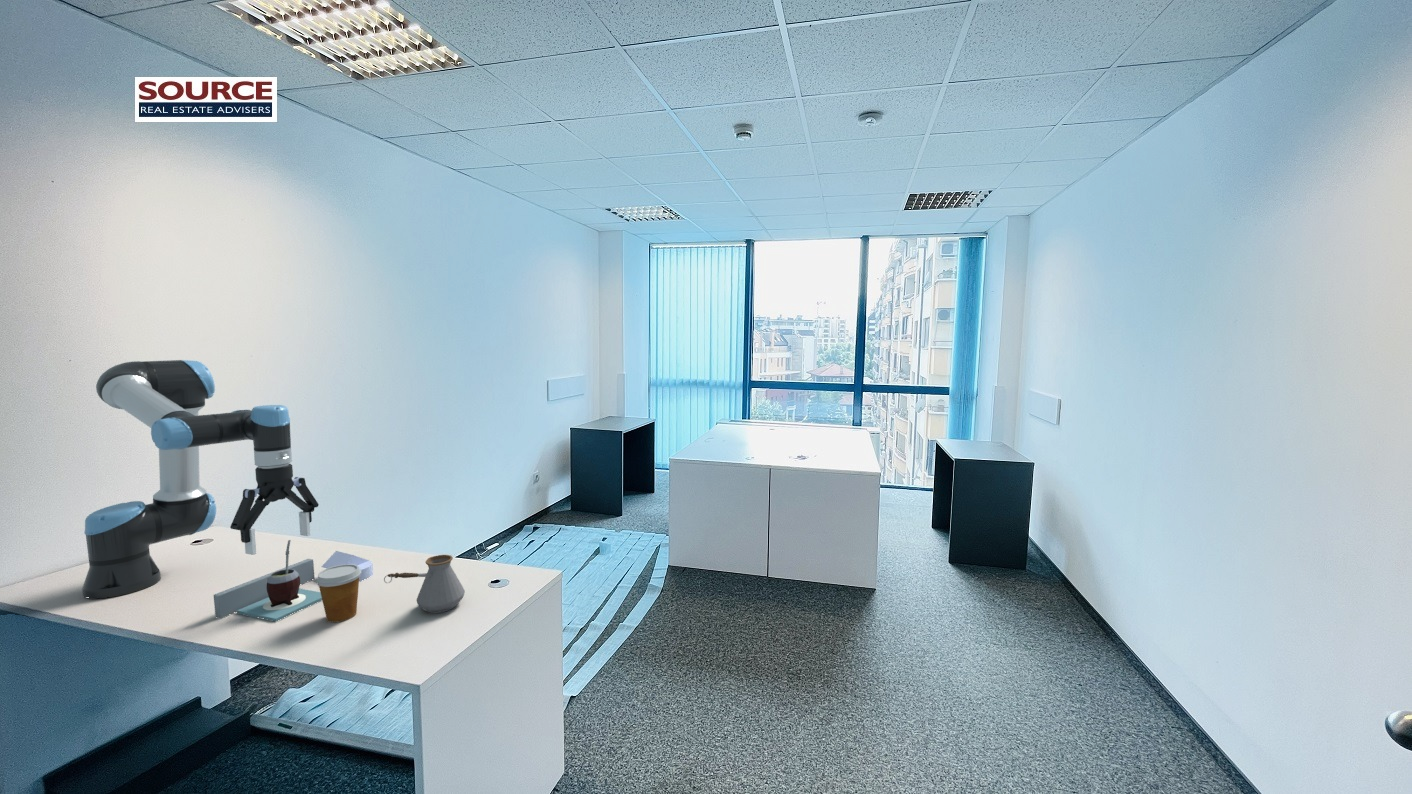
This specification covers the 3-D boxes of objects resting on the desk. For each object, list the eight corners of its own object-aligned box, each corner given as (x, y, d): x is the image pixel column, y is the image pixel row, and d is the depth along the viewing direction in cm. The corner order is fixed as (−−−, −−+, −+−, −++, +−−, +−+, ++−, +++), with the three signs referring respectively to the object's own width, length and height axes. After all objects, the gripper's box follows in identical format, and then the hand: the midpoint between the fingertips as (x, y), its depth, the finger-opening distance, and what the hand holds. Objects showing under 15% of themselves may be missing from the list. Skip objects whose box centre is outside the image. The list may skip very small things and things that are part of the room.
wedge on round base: (322, 577, 160) (349, 586, 154) (320, 556, 159) (348, 563, 154) (352, 566, 168) (379, 573, 162) (351, 545, 167) (378, 552, 162)
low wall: (215, 617, 136) (213, 594, 136) (309, 578, 159) (308, 558, 159) (220, 618, 136) (218, 595, 135) (314, 579, 159) (313, 559, 158)
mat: (237, 613, 138) (236, 610, 138) (292, 589, 152) (292, 586, 152) (276, 621, 134) (275, 618, 134) (330, 596, 148) (329, 593, 148)
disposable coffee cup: (329, 629, 131) (326, 582, 129) (311, 619, 136) (308, 573, 134) (371, 613, 139) (368, 568, 137) (352, 603, 144) (349, 560, 143)
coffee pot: (441, 593, 150) (439, 541, 148) (474, 599, 146) (472, 546, 145) (371, 631, 130) (368, 572, 128) (408, 640, 126) (404, 578, 125)
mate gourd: (275, 610, 138) (271, 554, 136) (261, 603, 142) (256, 548, 140) (308, 598, 144) (304, 545, 143) (294, 592, 148) (290, 539, 147)
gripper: (229, 478, 126) (235, 564, 129) (330, 456, 150) (335, 530, 152) (207, 475, 129) (214, 560, 131) (311, 454, 152) (315, 526, 155)
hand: (279, 544), depth 142 cm, fingers open, 13 cm apart
